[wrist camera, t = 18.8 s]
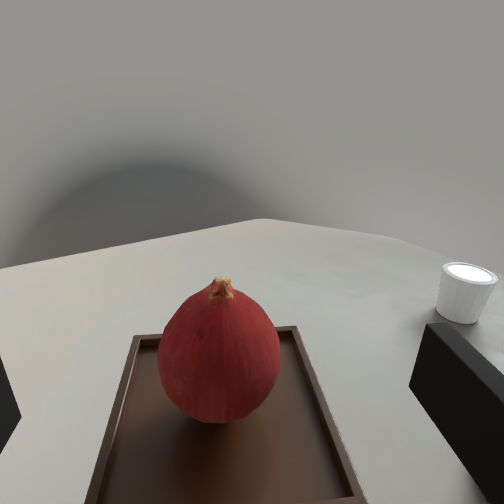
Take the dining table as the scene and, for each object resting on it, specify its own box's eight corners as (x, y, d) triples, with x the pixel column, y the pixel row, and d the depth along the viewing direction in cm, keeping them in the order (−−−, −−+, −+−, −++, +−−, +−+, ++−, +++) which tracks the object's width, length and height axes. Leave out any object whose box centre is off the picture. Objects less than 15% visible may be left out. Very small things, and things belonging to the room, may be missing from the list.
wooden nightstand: (284, 462, 30) (296, 325, 24) (329, 671, 19) (373, 516, 13) (154, 477, 28) (133, 335, 22) (124, 711, 18) (67, 557, 12)
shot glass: (471, 332, 47) (487, 289, 44) (423, 310, 52) (434, 269, 49) (490, 315, 51) (505, 274, 48) (443, 296, 56) (454, 257, 53)
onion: (143, 406, 18) (123, 272, 15) (227, 356, 22) (226, 239, 18) (210, 492, 14) (203, 336, 11) (299, 413, 18) (313, 279, 15)
